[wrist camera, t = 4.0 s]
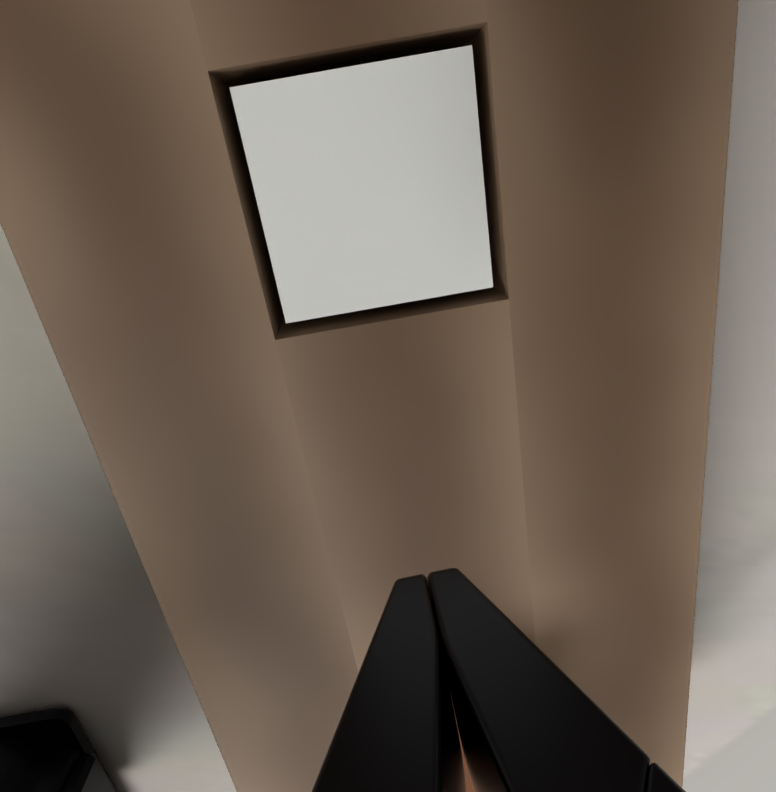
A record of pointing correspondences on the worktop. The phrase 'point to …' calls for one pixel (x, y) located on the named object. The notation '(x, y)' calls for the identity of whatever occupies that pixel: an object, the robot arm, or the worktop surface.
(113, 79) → the button panel
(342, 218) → the grey button
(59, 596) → the worktop surface
